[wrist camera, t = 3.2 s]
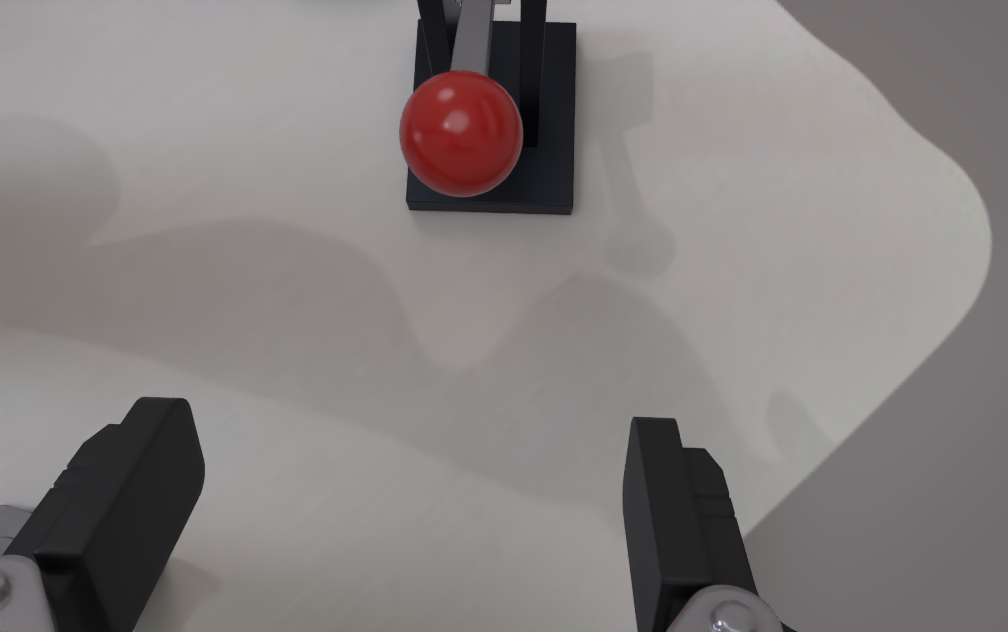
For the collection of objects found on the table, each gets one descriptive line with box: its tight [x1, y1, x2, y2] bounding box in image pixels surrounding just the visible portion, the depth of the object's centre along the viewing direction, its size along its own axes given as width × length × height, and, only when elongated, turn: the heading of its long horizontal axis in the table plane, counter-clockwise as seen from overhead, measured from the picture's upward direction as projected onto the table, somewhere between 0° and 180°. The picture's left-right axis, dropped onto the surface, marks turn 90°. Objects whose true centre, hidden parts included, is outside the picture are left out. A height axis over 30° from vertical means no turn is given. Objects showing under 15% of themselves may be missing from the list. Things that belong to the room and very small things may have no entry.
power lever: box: [399, 0, 523, 197], centre depth 27 cm, size 15×4×4 cm, turn 177°
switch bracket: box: [406, 0, 576, 215], centre depth 37 cm, size 11×9×16 cm
